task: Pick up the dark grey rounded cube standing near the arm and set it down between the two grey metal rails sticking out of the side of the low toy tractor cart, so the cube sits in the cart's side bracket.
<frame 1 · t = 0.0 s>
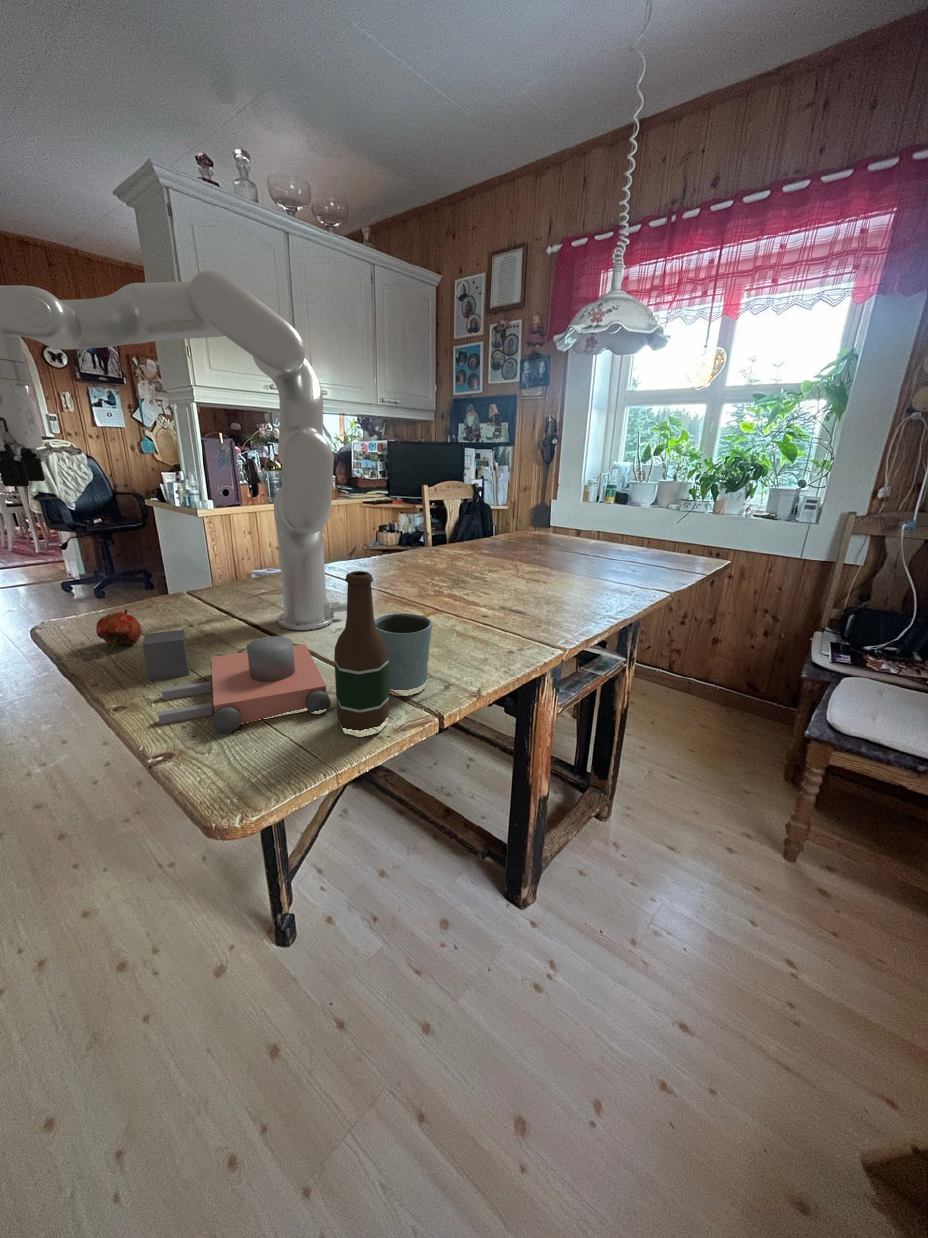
hand: (25, 483, 84), 31 cm above the table, tool pointing down, fingers open, 9 cm apart
dark grey rounded cube: (170, 672, 87), on the table
toy tractor cart: (268, 691, 82), on the table
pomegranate: (122, 647, 97), on the table
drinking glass: (402, 685, 87), on the table
beer bottle: (363, 725, 74), on the table
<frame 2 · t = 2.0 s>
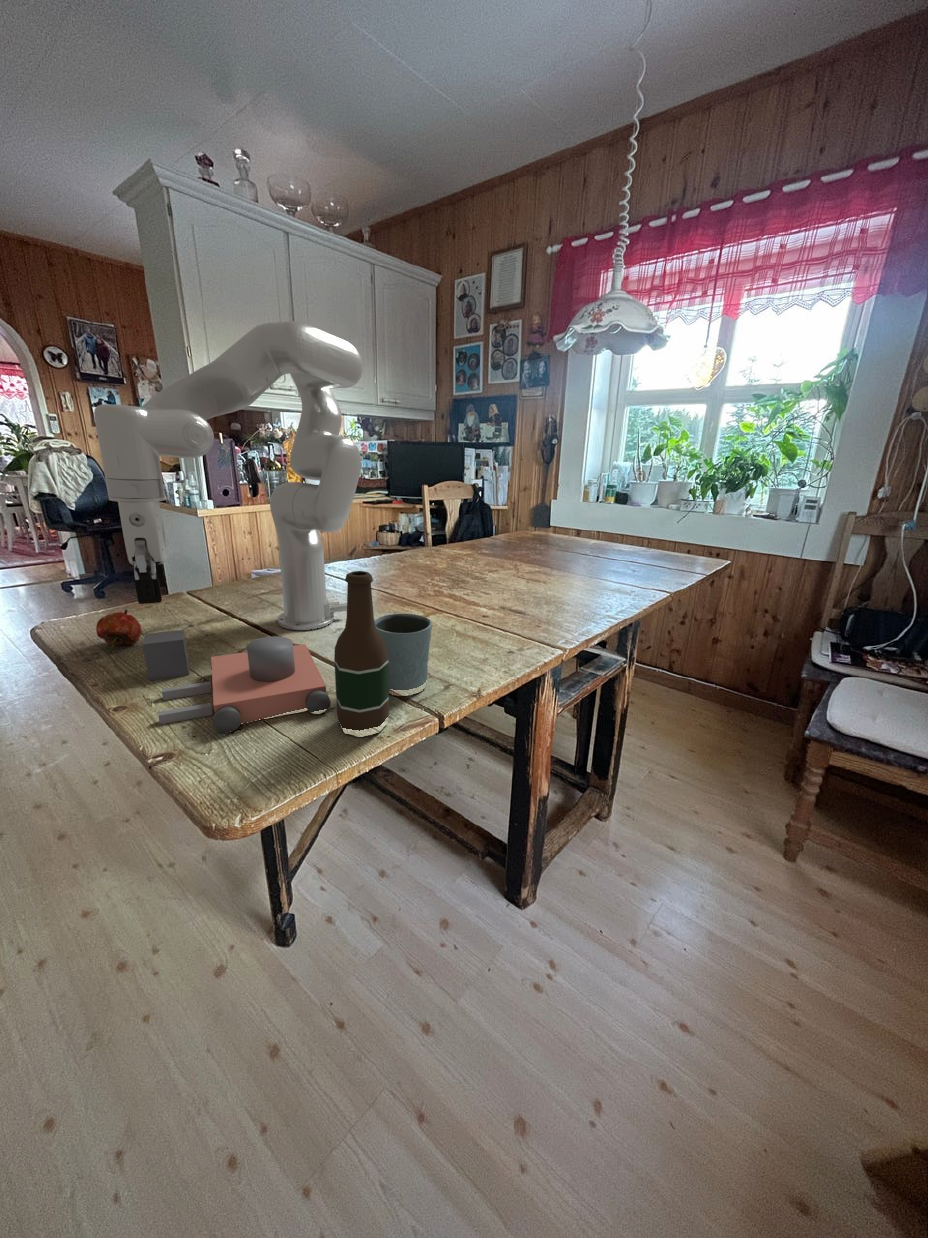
hand: (152, 594, 82), 15 cm above the table, tool pointing down, fingers open, 9 cm apart
nothing on the table moved.
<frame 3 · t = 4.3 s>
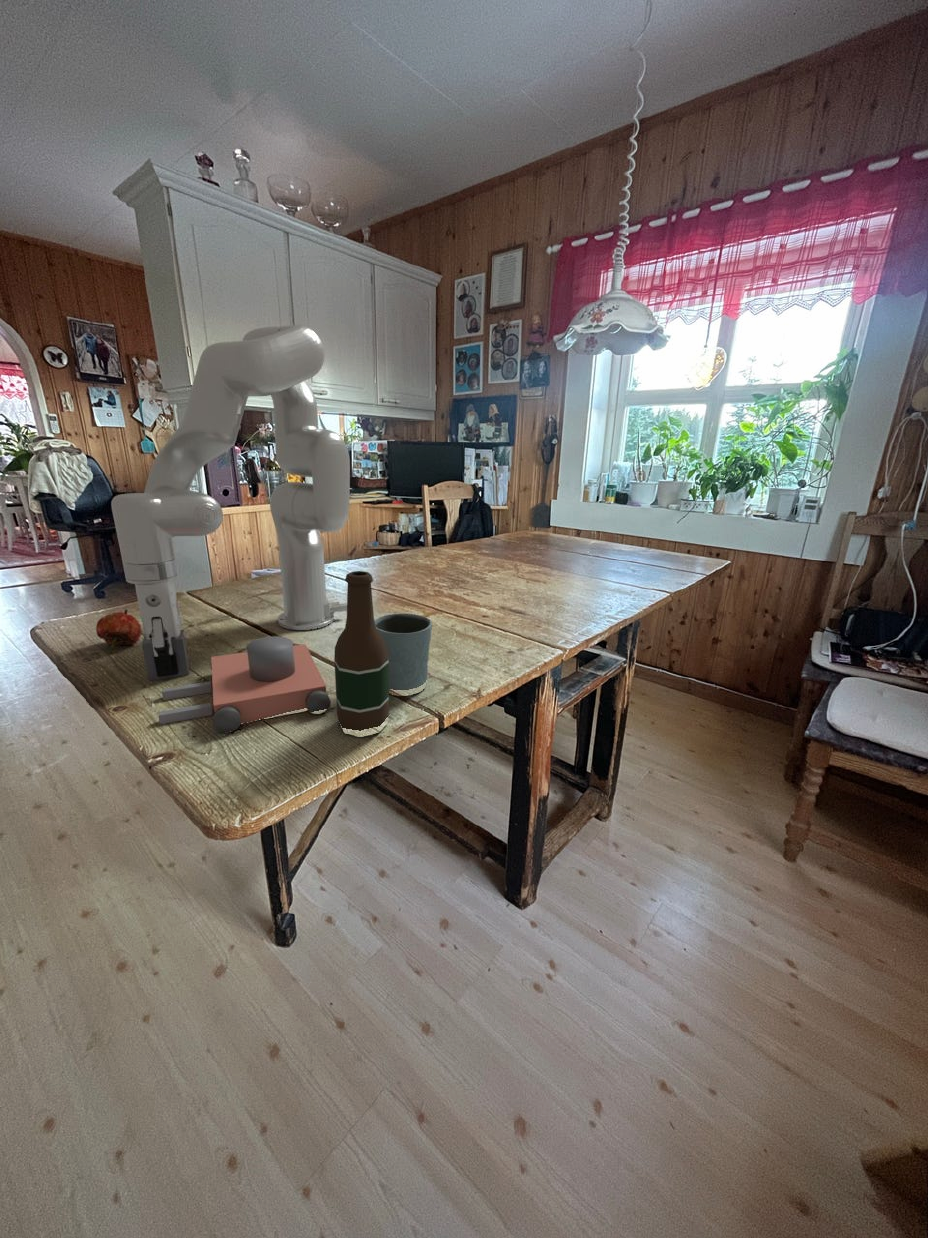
hand: (169, 667, 87), 1 cm above the table, tool pointing down, fingers closed on dark grey rounded cube, 5 cm apart
dark grey rounded cube: (169, 672, 87), on the table, touching gripper
everything else where it was.
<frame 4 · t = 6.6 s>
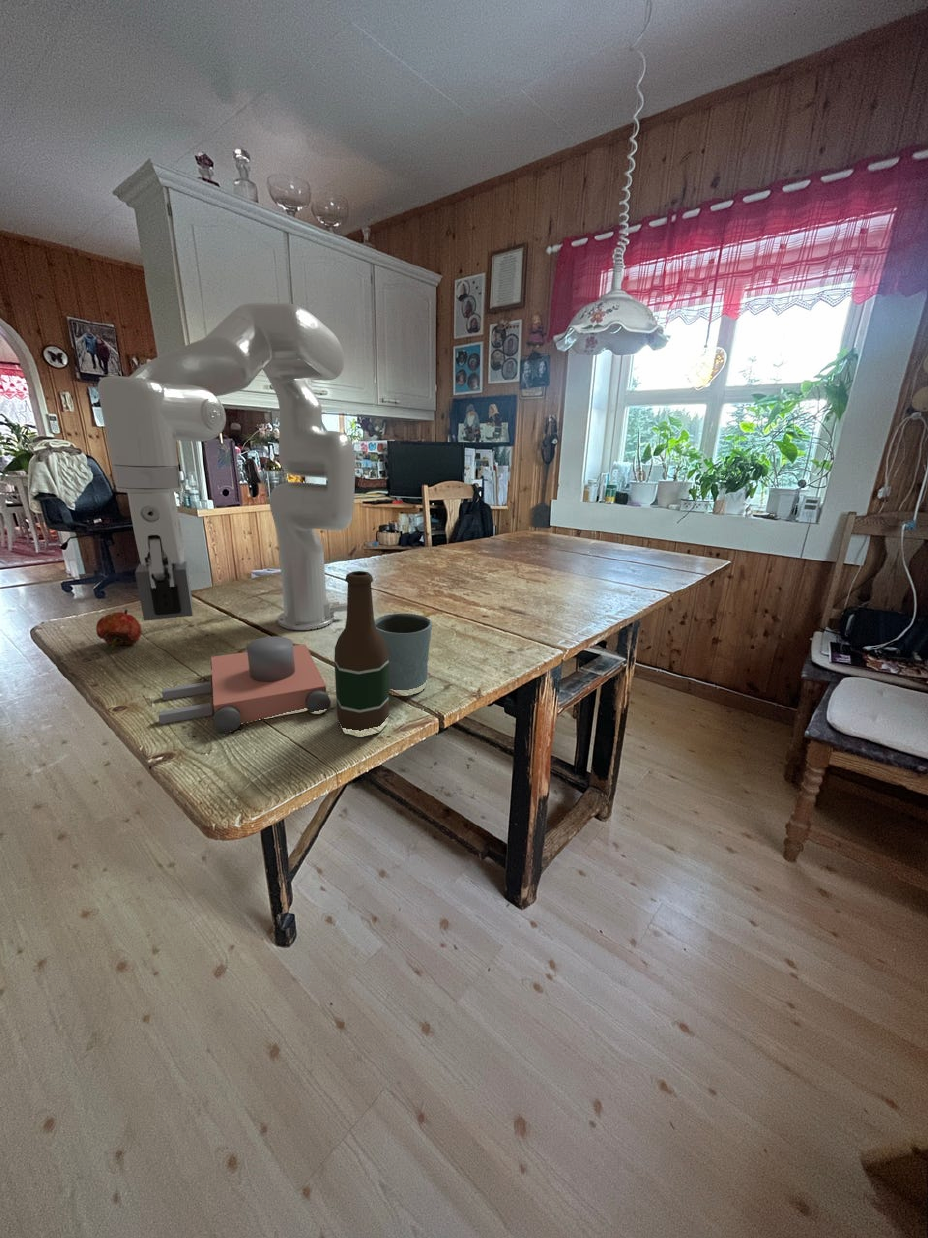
hand: (169, 606, 71), 17 cm above the table, tool pointing down, fingers closed on dark grey rounded cube, 5 cm apart
dark grey rounded cube: (169, 612, 71), point 16 cm above the table, touching gripper
everything else where it was.
when the fingers open (3 cm above the table, at t = 9.0 s): dark grey rounded cube drops 2 cm, on the table.
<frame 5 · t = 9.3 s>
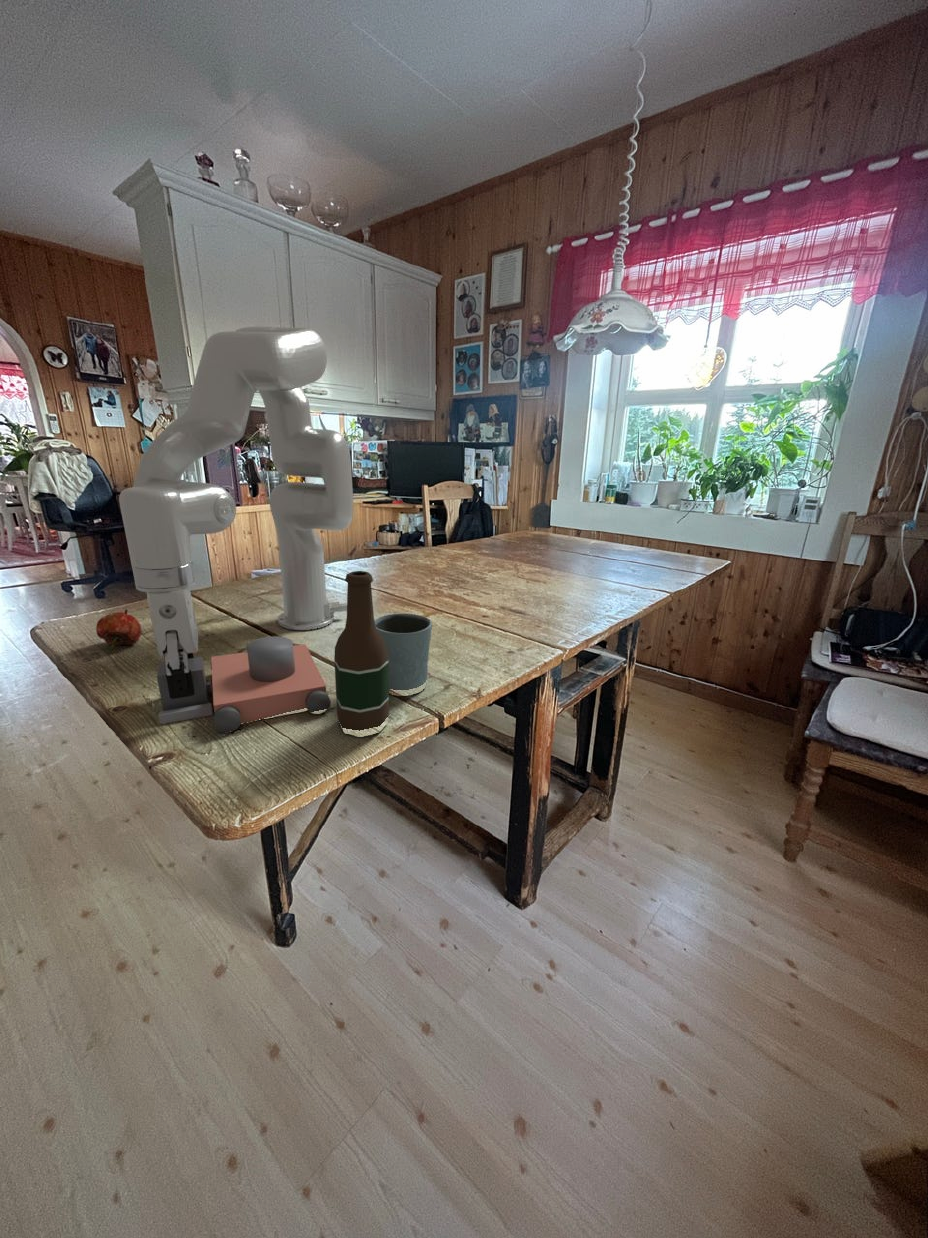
hand: (183, 682, 76), 4 cm above the table, tool pointing down, fingers open, 8 cm apart
dark grey rounded cube: (187, 705, 77), on the table
everything else where it was.
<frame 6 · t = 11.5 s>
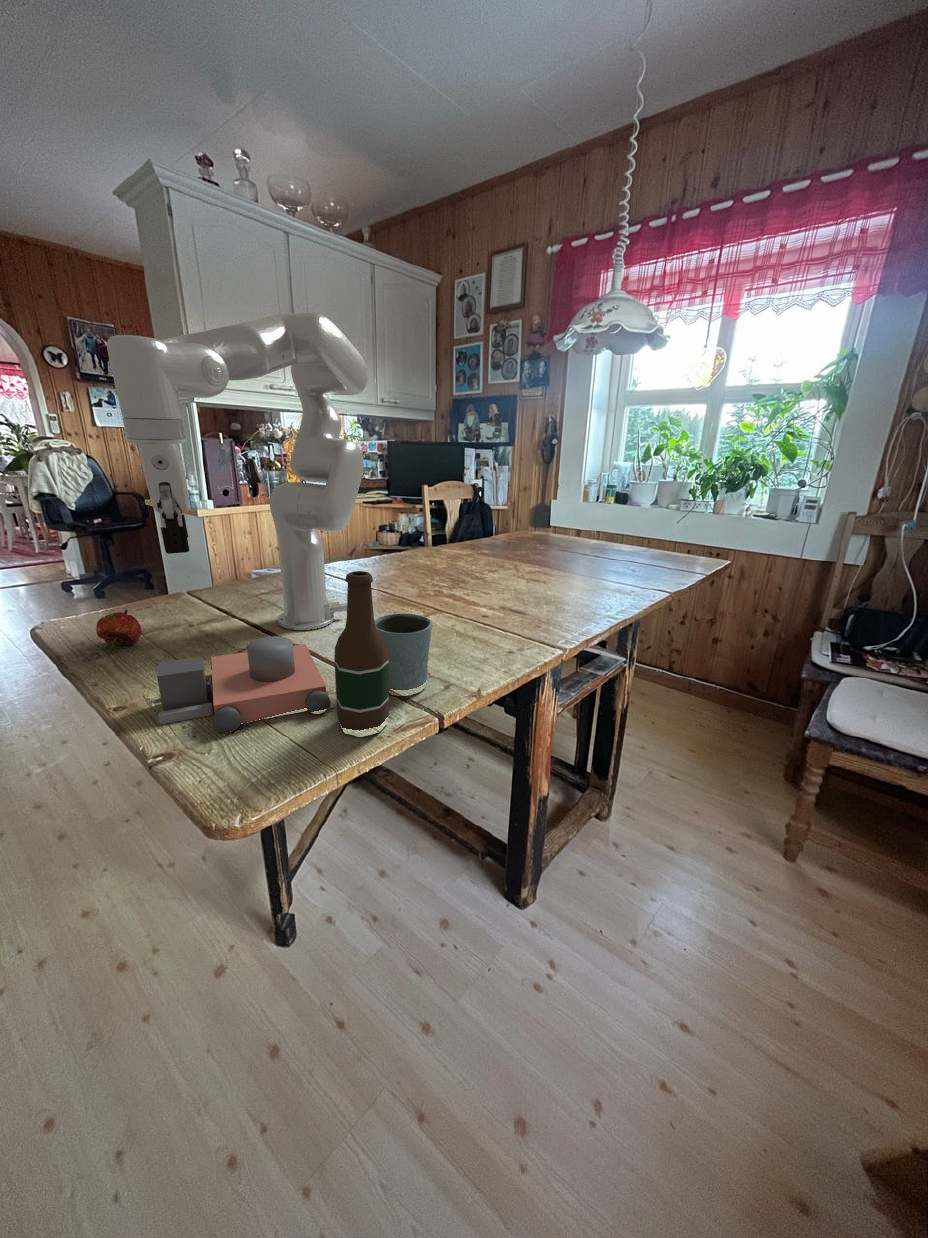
hand: (177, 545, 78), 24 cm above the table, tool pointing down, fingers open, 9 cm apart
nothing on the table moved.
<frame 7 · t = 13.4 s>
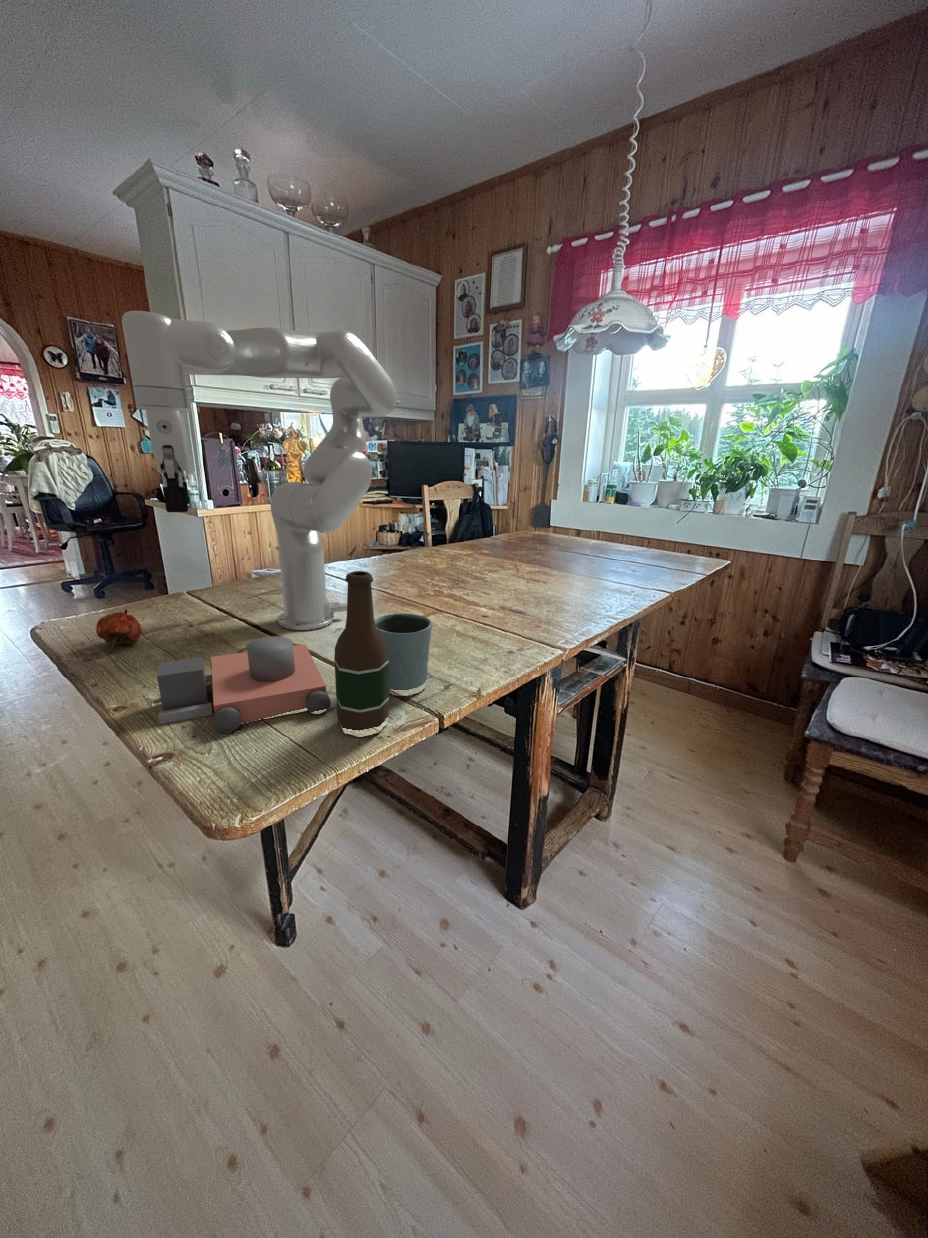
hand: (178, 507, 85), 28 cm above the table, tool pointing down, fingers open, 9 cm apart
nothing on the table moved.
at the end: dark grey rounded cube 0.3 cm from the target spot on the toy tractor cart, point 0.0 cm above the toy tractor cart's base; dark grey rounded cube tilted 0°; the gripper is holding nothing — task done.
